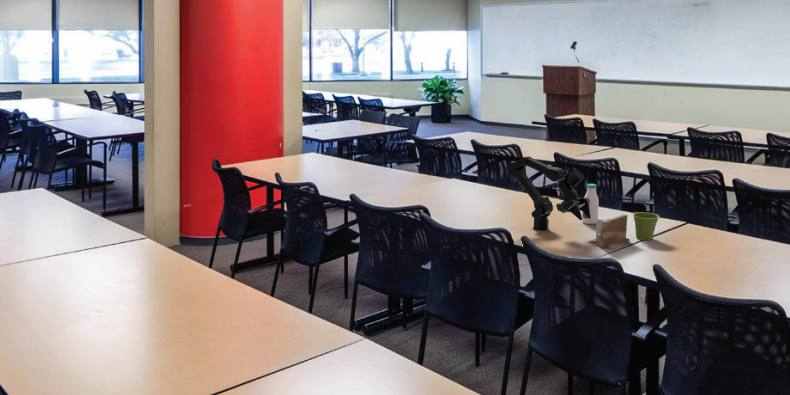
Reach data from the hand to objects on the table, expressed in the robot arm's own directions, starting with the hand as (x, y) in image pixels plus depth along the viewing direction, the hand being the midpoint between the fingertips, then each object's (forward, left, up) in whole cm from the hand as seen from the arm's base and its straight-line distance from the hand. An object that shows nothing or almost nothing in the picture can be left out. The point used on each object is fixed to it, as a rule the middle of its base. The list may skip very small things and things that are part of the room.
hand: (585, 219), depth 340 cm
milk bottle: (-3, +31, -9) cm, 32 cm away
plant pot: (+26, +11, -9) cm, 29 cm away
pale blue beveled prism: (+9, -3, -9) cm, 13 cm away
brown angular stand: (+11, -4, -9) cm, 15 cm away
